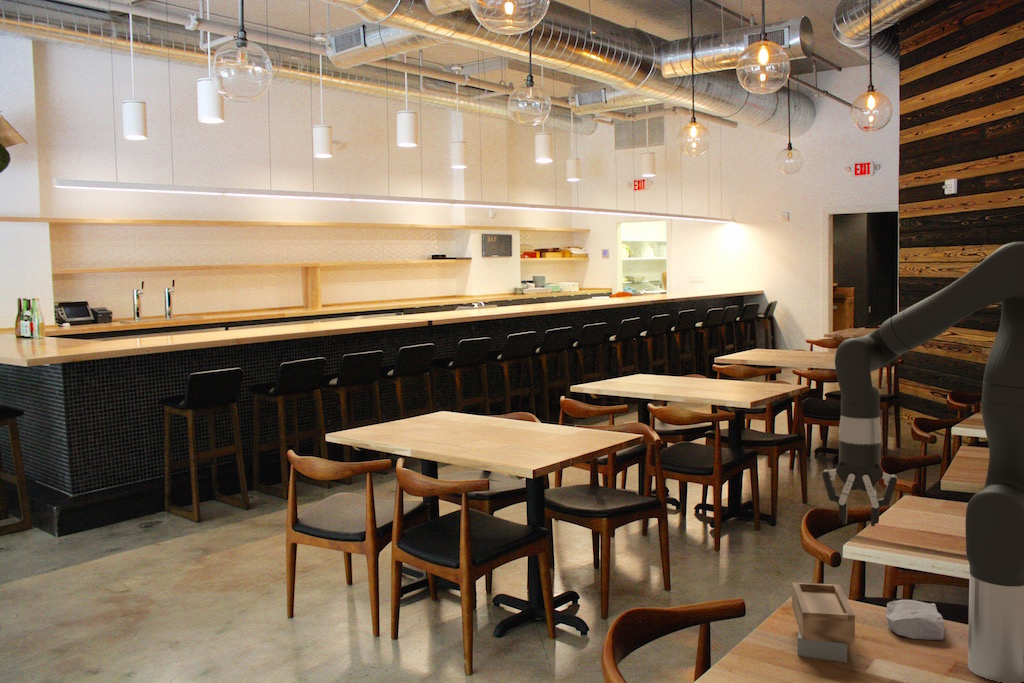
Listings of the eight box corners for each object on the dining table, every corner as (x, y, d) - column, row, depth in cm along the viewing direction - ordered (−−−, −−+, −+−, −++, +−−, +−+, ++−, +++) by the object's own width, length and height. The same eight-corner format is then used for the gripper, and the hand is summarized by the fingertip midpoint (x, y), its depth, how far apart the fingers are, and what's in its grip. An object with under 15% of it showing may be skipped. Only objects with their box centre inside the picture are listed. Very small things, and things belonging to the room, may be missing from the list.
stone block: (893, 645, 157) (950, 641, 154) (888, 621, 157) (944, 616, 154) (884, 622, 168) (936, 618, 165) (879, 599, 168) (932, 595, 165)
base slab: (846, 631, 161) (846, 612, 160) (847, 665, 147) (847, 644, 147) (801, 626, 164) (801, 606, 164) (797, 658, 150) (797, 637, 150)
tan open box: (839, 610, 162) (839, 584, 161) (854, 643, 147) (854, 615, 147) (792, 607, 163) (792, 582, 163) (802, 639, 149) (802, 612, 148)
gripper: (900, 437, 158) (898, 522, 160) (822, 432, 165) (821, 514, 166) (900, 445, 152) (898, 533, 153) (819, 439, 158) (818, 525, 159)
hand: (858, 523), depth 159 cm, fingers open, 4 cm apart
